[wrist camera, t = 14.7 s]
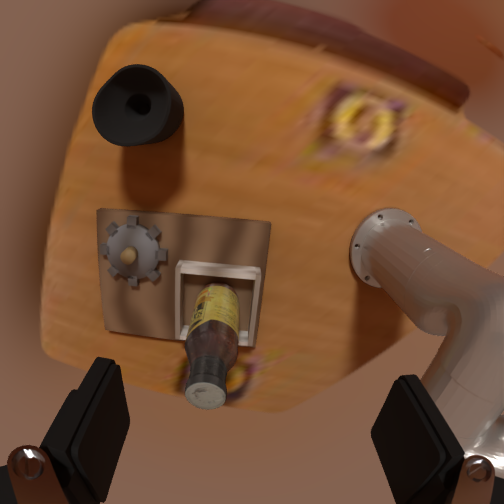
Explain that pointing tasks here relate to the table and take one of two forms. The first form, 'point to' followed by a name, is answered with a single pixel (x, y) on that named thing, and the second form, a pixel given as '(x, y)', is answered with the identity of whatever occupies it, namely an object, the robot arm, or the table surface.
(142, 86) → the pen holder
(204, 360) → the sauce bottle
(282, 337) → the table surface
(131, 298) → the gear board
